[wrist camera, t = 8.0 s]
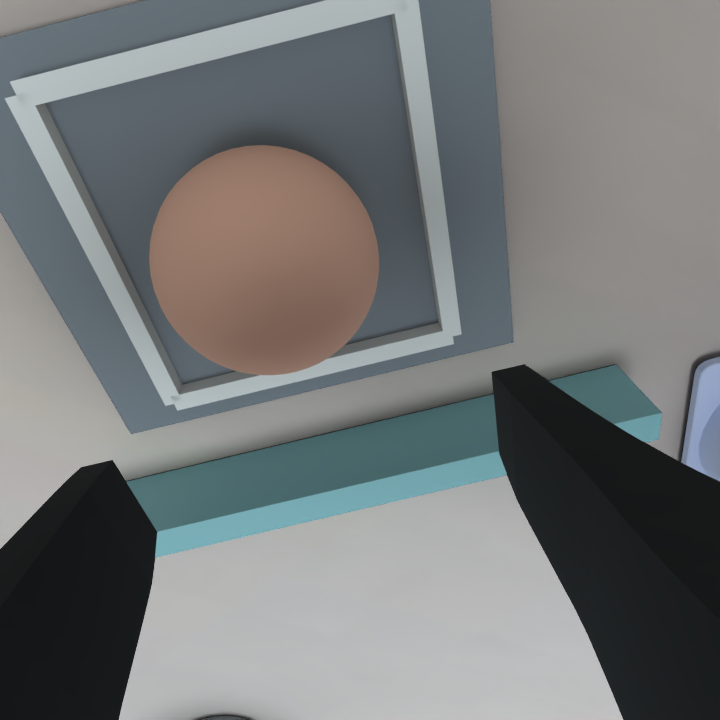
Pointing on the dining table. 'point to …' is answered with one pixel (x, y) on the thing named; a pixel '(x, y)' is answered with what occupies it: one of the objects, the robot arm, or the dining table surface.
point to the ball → (264, 260)
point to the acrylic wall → (359, 466)
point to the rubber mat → (248, 128)
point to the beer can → (224, 718)
